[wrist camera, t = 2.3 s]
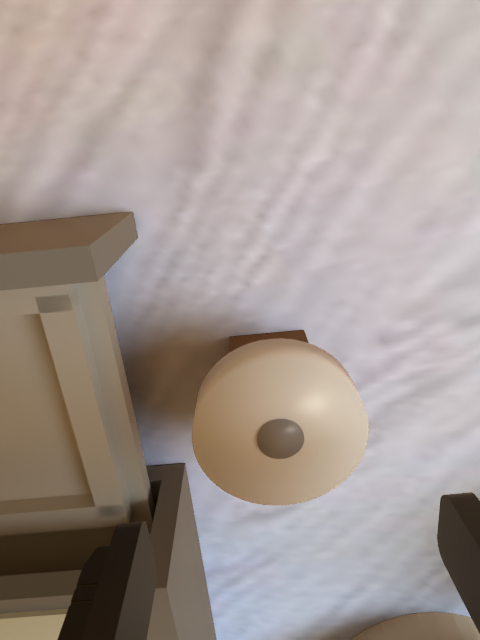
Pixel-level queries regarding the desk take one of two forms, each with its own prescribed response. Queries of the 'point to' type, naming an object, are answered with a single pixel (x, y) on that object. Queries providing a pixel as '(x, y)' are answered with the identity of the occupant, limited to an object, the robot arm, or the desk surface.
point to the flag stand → (423, 628)
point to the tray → (64, 396)
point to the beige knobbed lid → (278, 423)
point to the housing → (171, 576)
